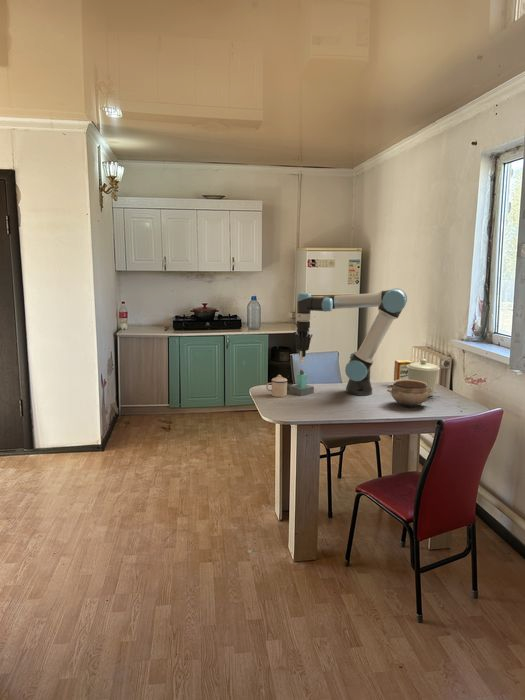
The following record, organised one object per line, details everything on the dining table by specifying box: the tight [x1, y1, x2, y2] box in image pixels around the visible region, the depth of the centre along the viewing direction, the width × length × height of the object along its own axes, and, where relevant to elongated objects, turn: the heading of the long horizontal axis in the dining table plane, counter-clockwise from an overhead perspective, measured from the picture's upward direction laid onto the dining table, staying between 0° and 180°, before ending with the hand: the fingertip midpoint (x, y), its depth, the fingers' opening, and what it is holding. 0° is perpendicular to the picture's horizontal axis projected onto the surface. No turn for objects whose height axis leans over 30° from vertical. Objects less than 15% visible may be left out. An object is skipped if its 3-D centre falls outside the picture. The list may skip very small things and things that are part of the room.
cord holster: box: [287, 383, 295, 392], centre depth 304 cm, size 7×7×2 cm
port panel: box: [288, 383, 315, 397], centre depth 297 cm, size 10×10×4 cm
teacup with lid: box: [265, 374, 288, 398], centre depth 290 cm, size 12×9×12 cm
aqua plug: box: [296, 369, 308, 388], centre depth 296 cm, size 4×4×14 cm
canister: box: [407, 358, 441, 398], centre depth 296 cm, size 18×18×21 cm
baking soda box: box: [392, 359, 415, 386], centre depth 316 cm, size 10×6×16 cm
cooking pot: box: [386, 379, 432, 408], centre depth 274 cm, size 25×19×12 cm
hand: (302, 362), depth 294 cm, fingers closed
